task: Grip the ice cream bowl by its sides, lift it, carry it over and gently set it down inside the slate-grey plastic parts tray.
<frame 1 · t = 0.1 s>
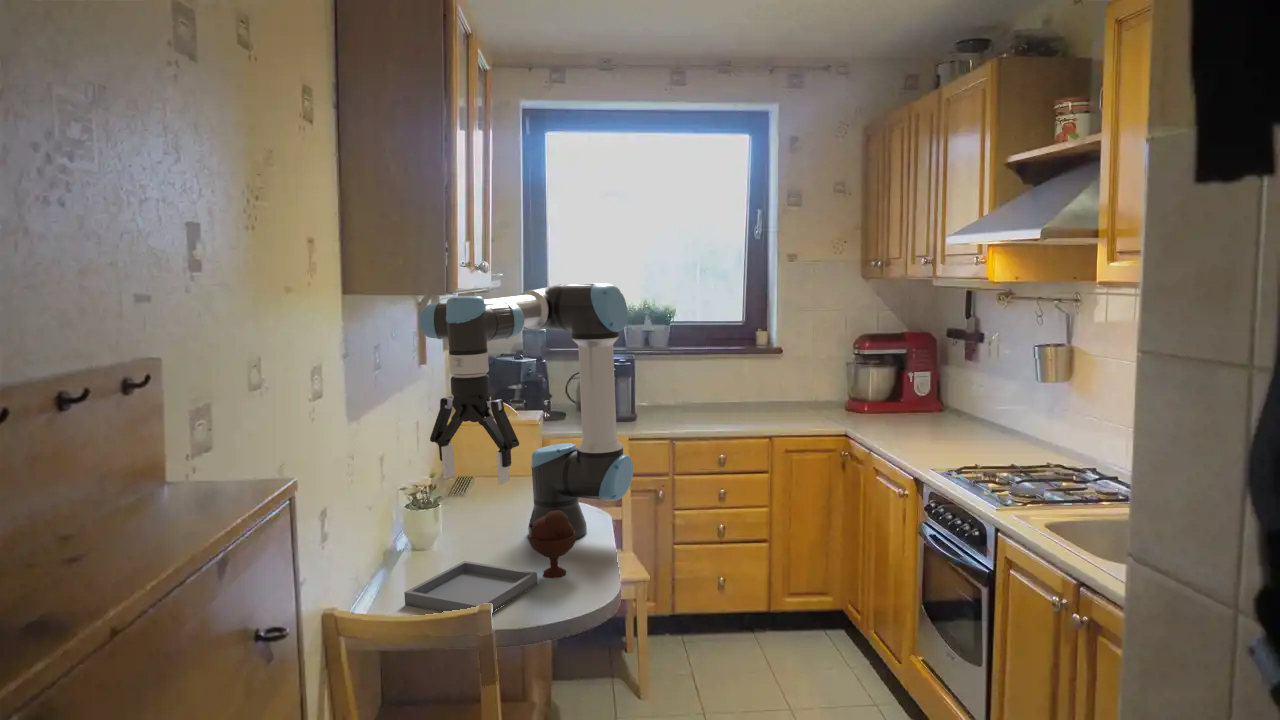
hand: (476, 479, 175), 28 cm above the table, fingers open, 13 cm apart
parts tray: (472, 594, 188), on the table
ice cream bowl: (554, 574, 199), on the table
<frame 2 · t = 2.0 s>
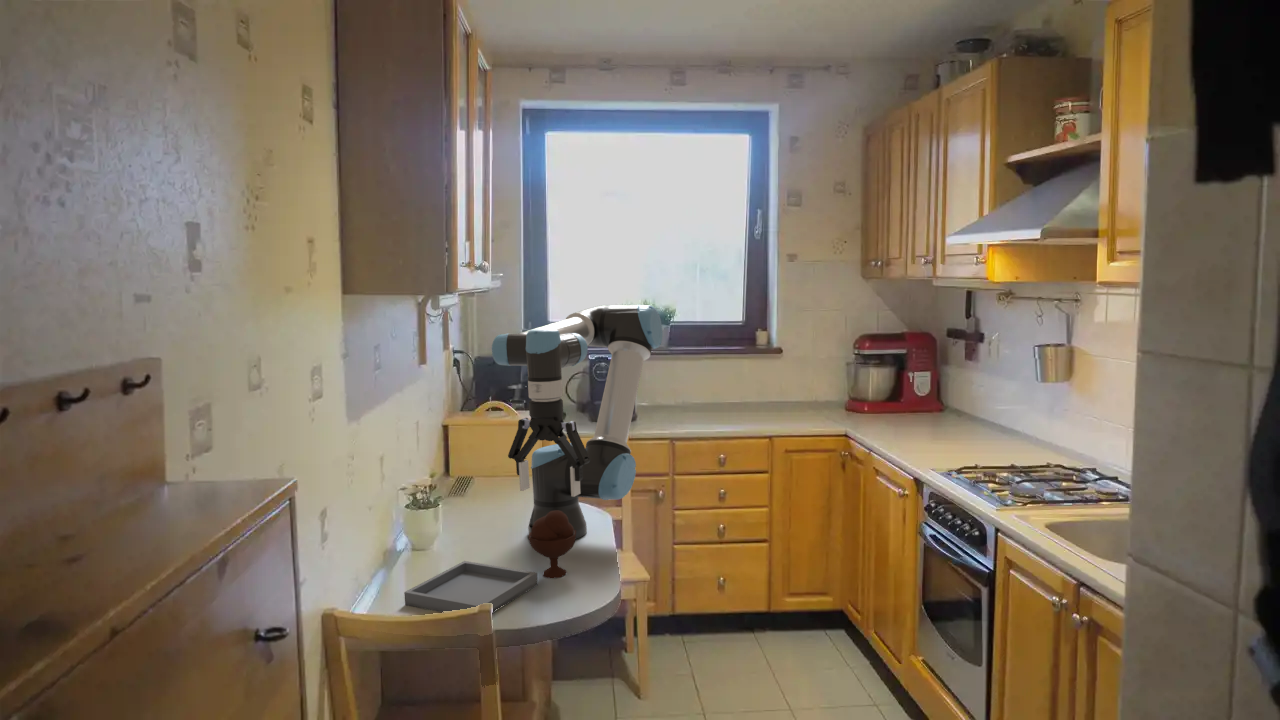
hand: (550, 492, 196), 19 cm above the table, fingers open, 13 cm apart
nothing on the table moved.
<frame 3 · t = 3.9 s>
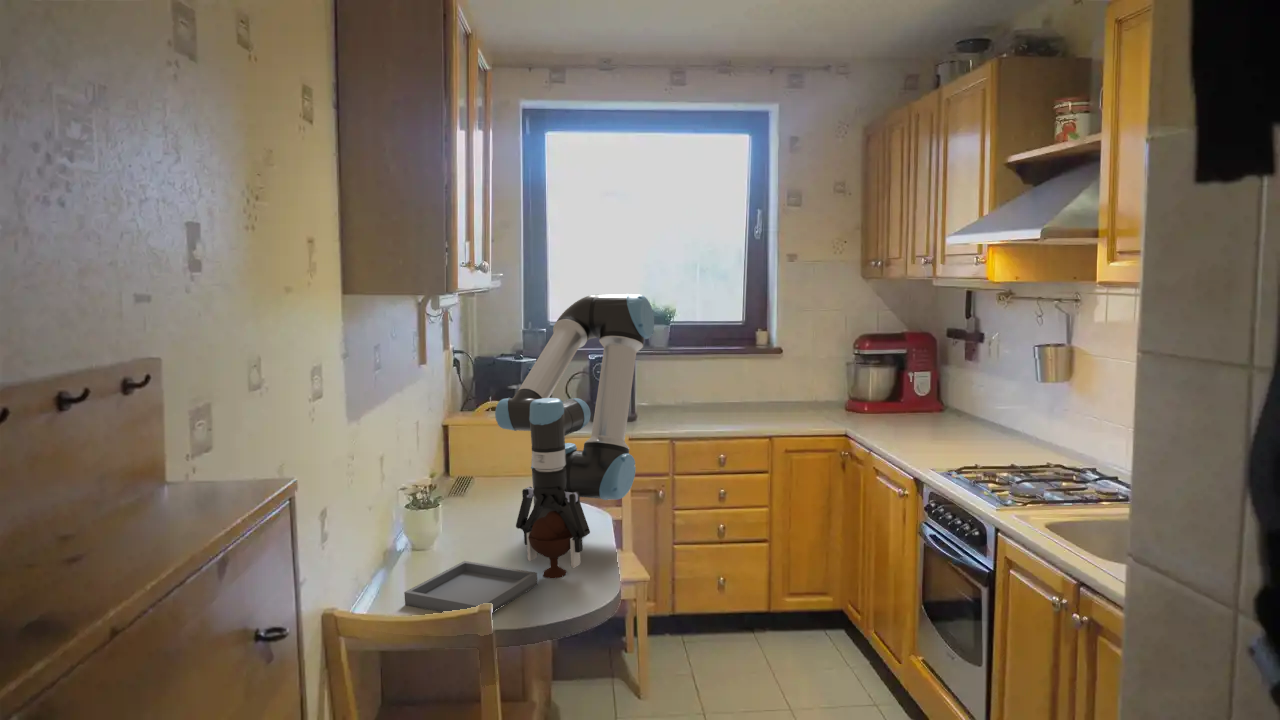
hand: (554, 562, 198), 3 cm above the table, fingers closed on ice cream bowl, 11 cm apart
ice cream bowl: (554, 574, 199), on the table, touching gripper
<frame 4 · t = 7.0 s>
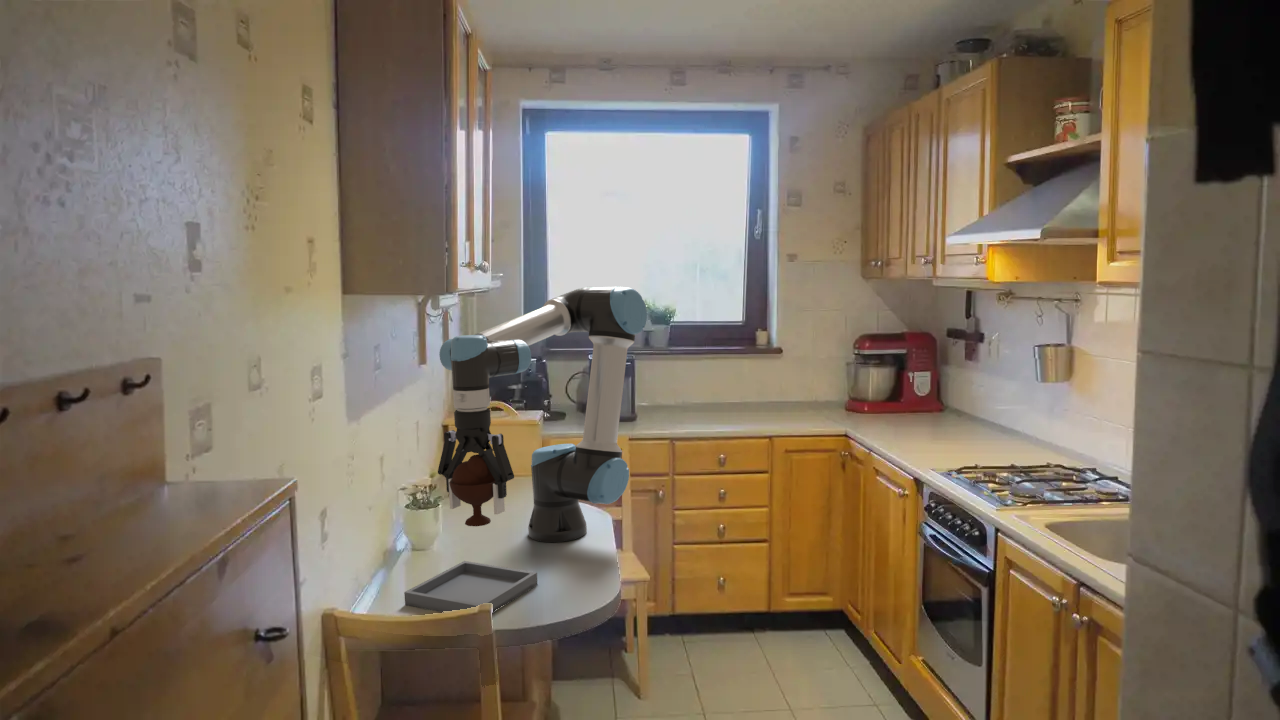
hand: (477, 509, 187), 18 cm above the table, fingers closed on ice cream bowl, 11 cm apart
ice cream bowl: (477, 523, 187), point 15 cm above the table, touching gripper
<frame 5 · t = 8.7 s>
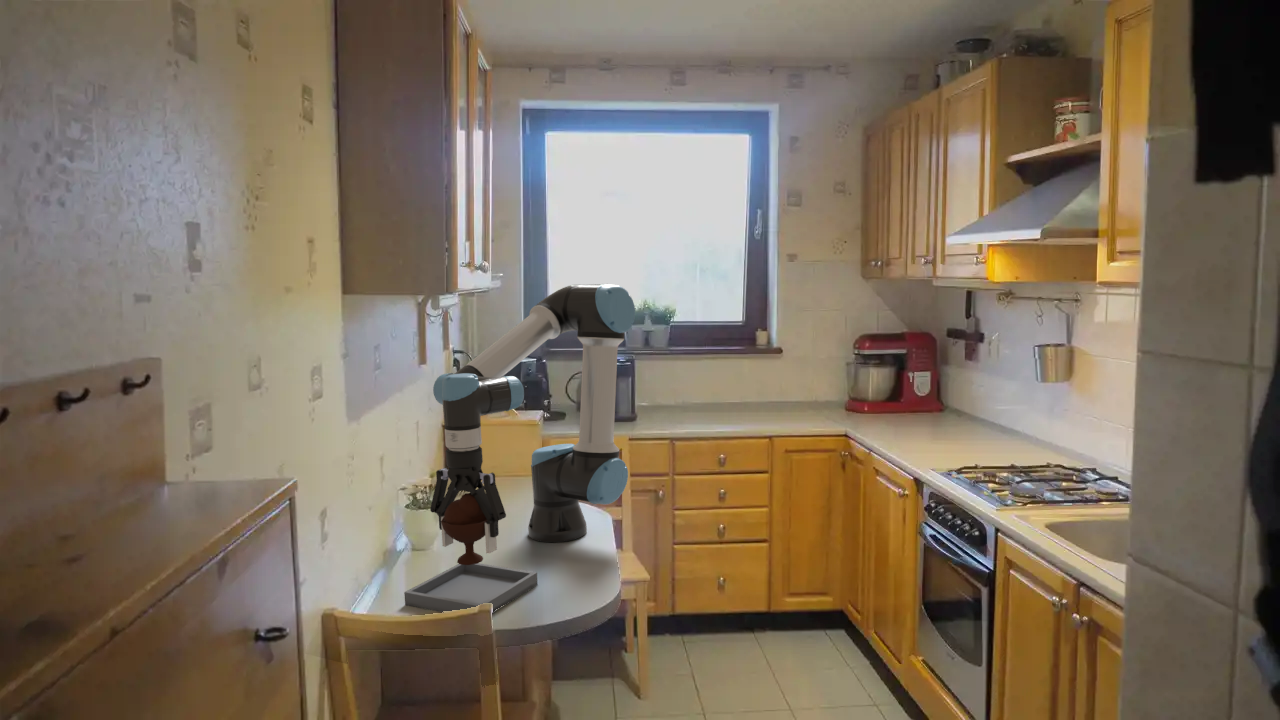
hand: (469, 548, 187), 10 cm above the table, fingers closed on ice cream bowl, 11 cm apart
ice cream bowl: (470, 561, 187), point 7 cm above the table, touching gripper
when the fingers open (5 cm above the table, at t = 10.3 s): ice cream bowl drops 1 cm, resting on parts tray.
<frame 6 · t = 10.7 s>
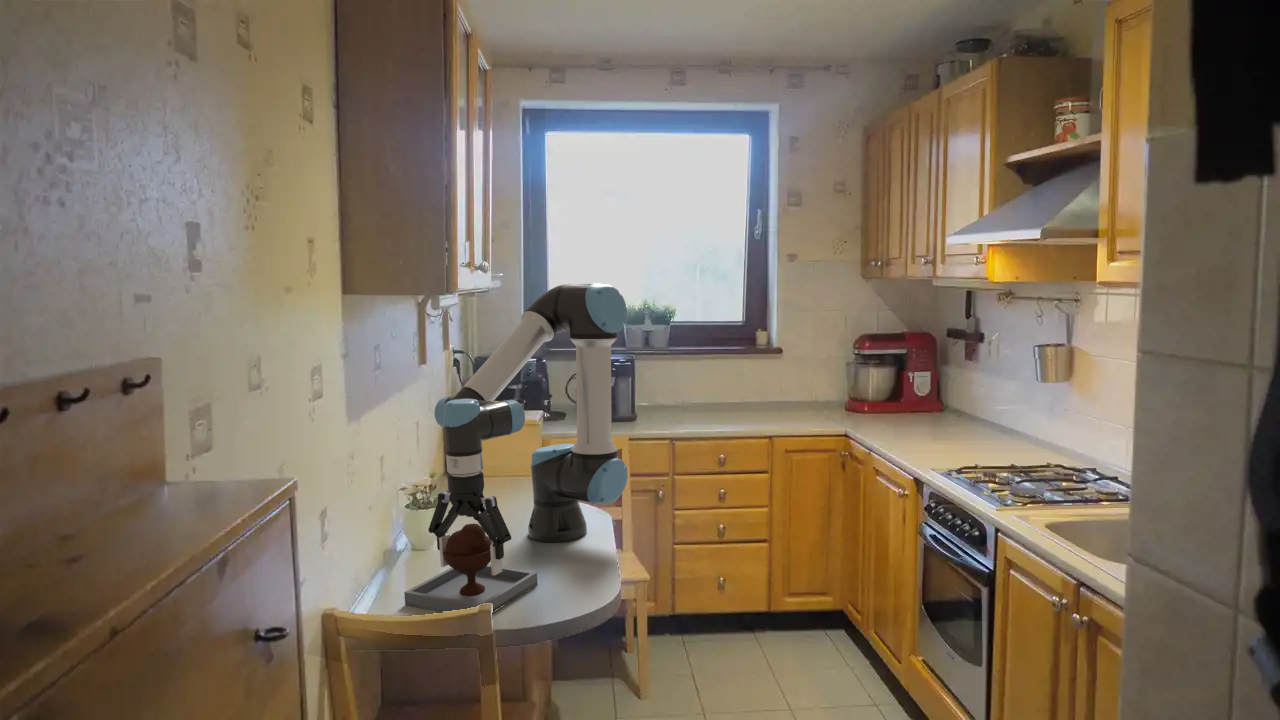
hand: (471, 569, 187), 6 cm above the table, fingers open, 13 cm apart
ice cream bowl: (472, 591, 188), point 1 cm above the table, touching parts tray
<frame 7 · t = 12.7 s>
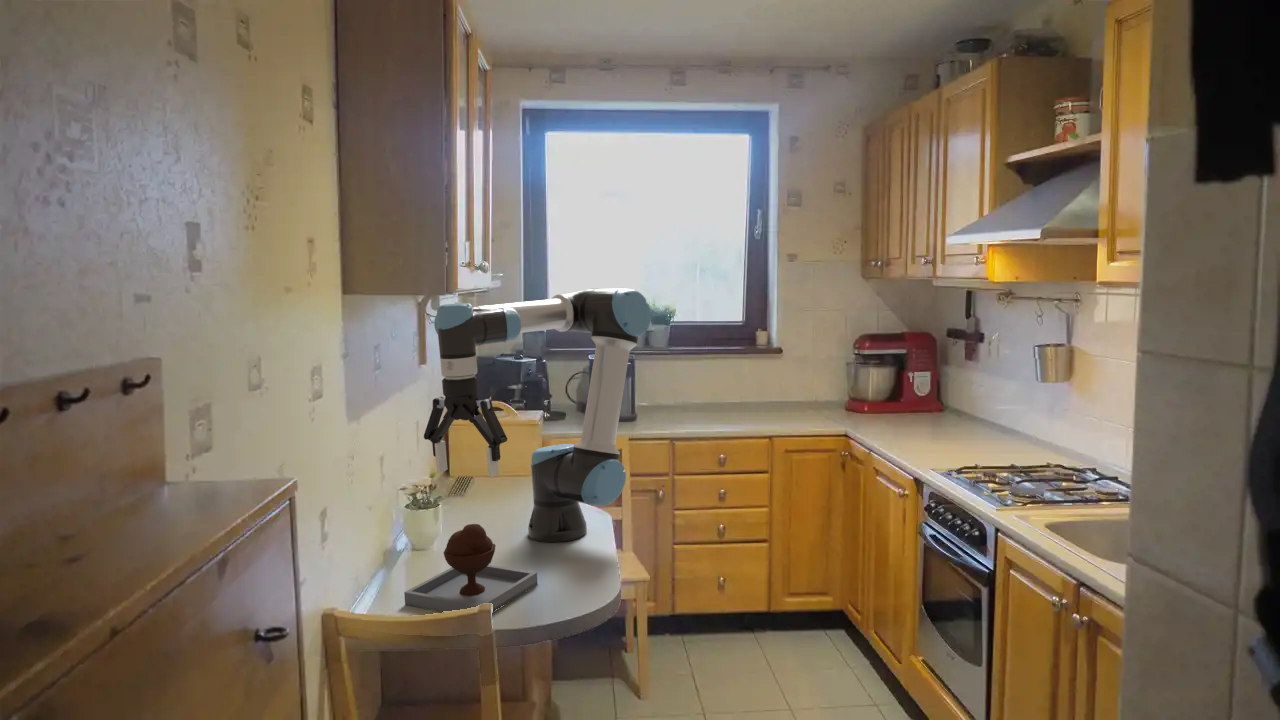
hand: (467, 473, 189), 26 cm above the table, fingers open, 13 cm apart
nothing on the table moved.
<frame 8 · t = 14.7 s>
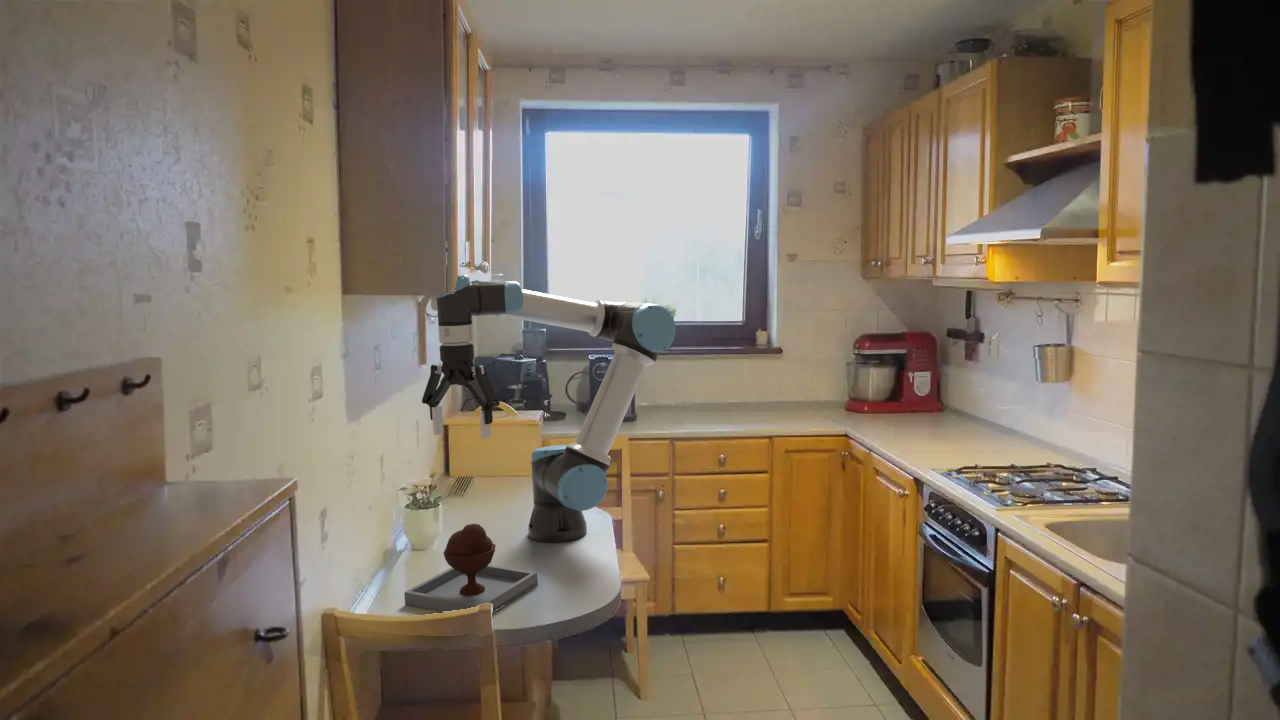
hand: (462, 436, 199), 32 cm above the table, fingers open, 13 cm apart
nothing on the table moved.
at the end: ice cream bowl inside the target area on the parts tray (0.1 cm from its centre), point 0.6 cm above the parts tray's base; ice cream bowl tilted 0°; the gripper is holding nothing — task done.
